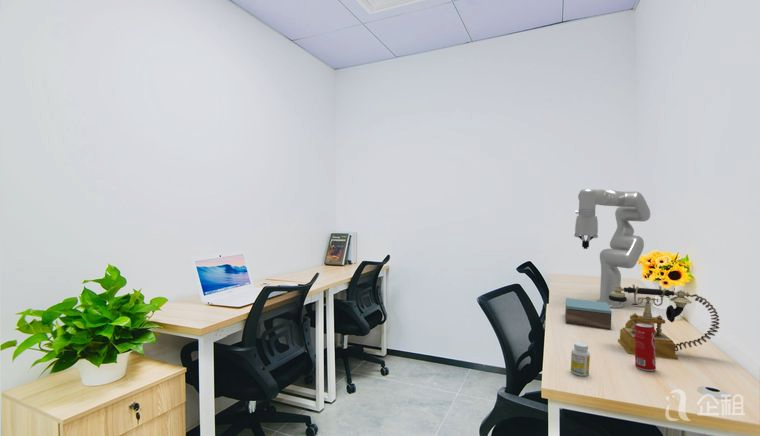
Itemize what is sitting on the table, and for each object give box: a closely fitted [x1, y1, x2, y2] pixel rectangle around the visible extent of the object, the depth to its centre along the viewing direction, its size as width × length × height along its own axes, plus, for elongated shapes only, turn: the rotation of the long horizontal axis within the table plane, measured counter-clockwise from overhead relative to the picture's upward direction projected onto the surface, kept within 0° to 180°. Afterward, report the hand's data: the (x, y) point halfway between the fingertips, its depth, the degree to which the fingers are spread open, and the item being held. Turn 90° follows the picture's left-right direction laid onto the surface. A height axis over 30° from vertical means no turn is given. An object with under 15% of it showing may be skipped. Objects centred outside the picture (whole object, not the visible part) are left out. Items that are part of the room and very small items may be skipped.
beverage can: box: [634, 323, 657, 372], centre depth 129 cm, size 6×6×15 cm
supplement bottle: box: [570, 341, 591, 377], centre depth 125 cm, size 5×5×10 cm
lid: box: [565, 297, 613, 315], centre depth 179 cm, size 16×18×1 cm
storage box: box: [564, 306, 613, 331], centre depth 179 cm, size 16×18×7 cm
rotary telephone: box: [609, 283, 720, 360], centre depth 146 cm, size 35×18×25 cm, turn 72°
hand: (585, 248), depth 195 cm, fingers closed
